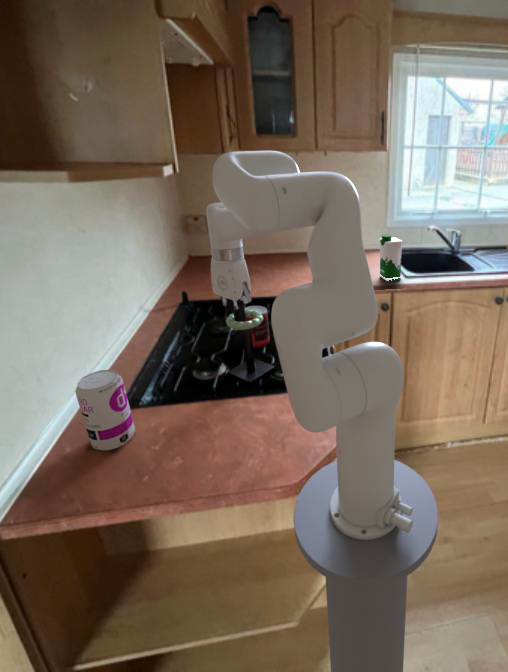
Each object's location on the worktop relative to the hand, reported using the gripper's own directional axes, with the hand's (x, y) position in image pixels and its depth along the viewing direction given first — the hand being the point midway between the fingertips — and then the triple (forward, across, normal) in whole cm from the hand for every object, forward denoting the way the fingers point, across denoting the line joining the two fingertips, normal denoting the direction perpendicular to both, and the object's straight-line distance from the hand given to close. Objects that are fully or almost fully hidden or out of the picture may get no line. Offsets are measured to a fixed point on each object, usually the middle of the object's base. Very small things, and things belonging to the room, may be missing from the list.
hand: (236, 319), depth 109 cm
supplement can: (+15, -1, -34) cm, 37 cm away
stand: (+15, +4, 0) cm, 16 cm away
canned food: (+15, -8, +13) cm, 22 cm away
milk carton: (+16, -4, +88) cm, 89 cm away
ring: (-1, +3, 0) cm, 4 cm away
